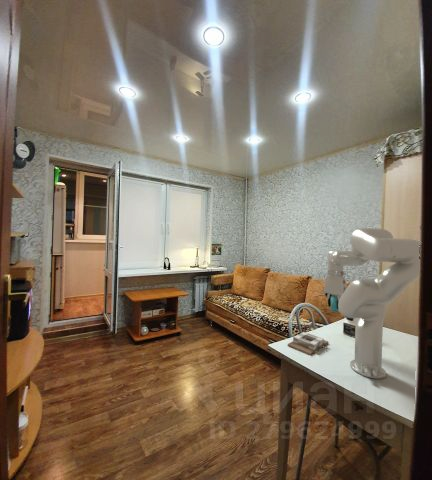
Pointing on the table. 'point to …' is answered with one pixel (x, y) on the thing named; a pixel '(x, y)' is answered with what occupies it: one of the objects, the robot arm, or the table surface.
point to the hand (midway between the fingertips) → (334, 306)
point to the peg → (334, 304)
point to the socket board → (304, 349)
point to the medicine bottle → (349, 326)
